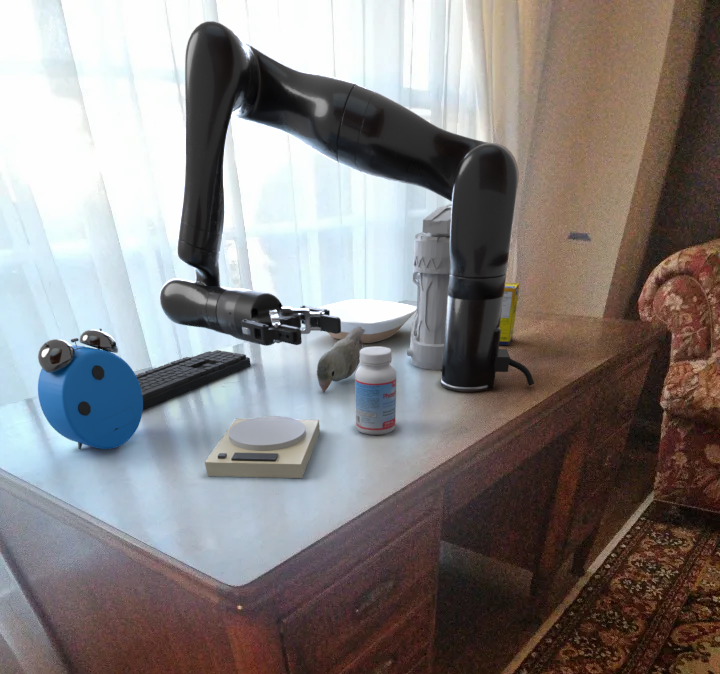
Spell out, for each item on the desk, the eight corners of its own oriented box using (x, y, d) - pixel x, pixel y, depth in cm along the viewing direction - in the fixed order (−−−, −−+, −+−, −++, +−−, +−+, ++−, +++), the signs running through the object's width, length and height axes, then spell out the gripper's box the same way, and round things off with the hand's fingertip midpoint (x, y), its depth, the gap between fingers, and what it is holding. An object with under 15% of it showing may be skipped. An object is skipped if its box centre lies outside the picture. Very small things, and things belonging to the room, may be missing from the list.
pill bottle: (391, 437, 86) (393, 357, 79) (352, 435, 87) (350, 355, 80) (398, 422, 91) (400, 345, 83) (360, 420, 92) (359, 344, 84)
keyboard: (210, 357, 121) (208, 347, 119) (252, 365, 116) (250, 354, 115) (69, 410, 98) (65, 398, 97) (114, 421, 93) (111, 408, 92)
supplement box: (512, 339, 127) (520, 282, 120) (508, 346, 123) (516, 287, 116) (485, 337, 129) (492, 281, 122) (481, 344, 125) (487, 286, 117)
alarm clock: (128, 426, 92) (98, 321, 82) (155, 433, 89) (127, 326, 79) (57, 455, 83) (14, 343, 73) (85, 464, 81) (44, 349, 71)
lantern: (449, 373, 110) (462, 210, 93) (400, 366, 114) (405, 209, 97) (474, 356, 118) (490, 204, 102) (428, 350, 122) (436, 203, 106)
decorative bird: (309, 391, 103) (305, 345, 98) (348, 367, 114) (347, 325, 109) (335, 395, 101) (333, 348, 96) (373, 369, 112) (373, 327, 107)
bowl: (353, 320, 144) (353, 296, 140) (428, 331, 134) (429, 306, 130) (297, 339, 130) (295, 313, 127) (375, 353, 121) (375, 325, 117)
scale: (319, 432, 88) (318, 414, 86) (302, 478, 76) (300, 458, 74) (237, 431, 89) (234, 413, 87) (207, 476, 77) (203, 456, 75)
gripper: (211, 297, 88) (283, 311, 80) (279, 283, 96) (351, 295, 88) (220, 350, 93) (288, 368, 85) (284, 332, 101) (352, 348, 93)
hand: (320, 331), depth 86 cm, fingers open, 8 cm apart
